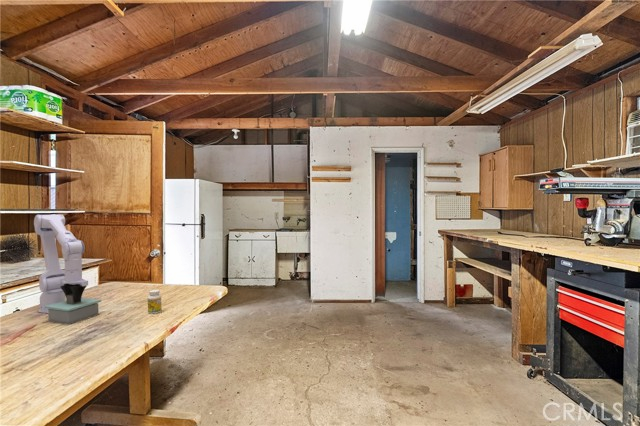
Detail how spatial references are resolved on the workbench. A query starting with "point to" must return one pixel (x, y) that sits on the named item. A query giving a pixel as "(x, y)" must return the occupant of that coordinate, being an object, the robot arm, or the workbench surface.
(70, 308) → the teal lid
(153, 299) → the supplement bottle
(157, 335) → the workbench surface
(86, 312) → the grey bin
